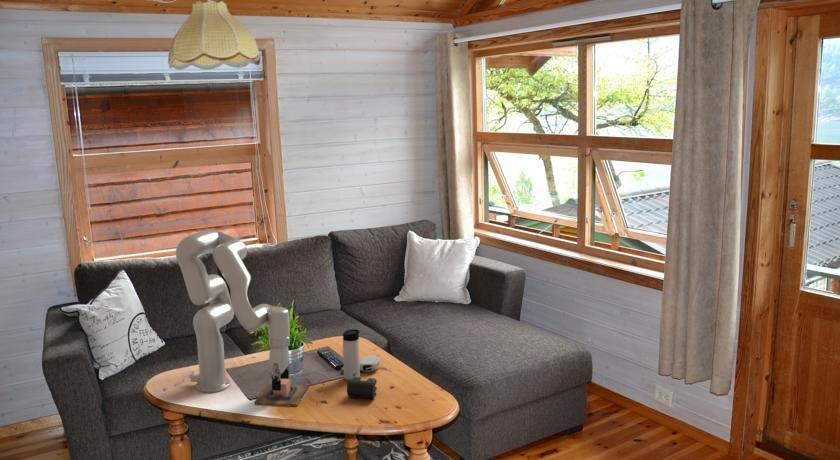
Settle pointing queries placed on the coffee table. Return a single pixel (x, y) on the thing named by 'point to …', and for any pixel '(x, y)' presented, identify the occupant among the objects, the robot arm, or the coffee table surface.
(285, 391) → the terracotta cube
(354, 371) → the travel mug
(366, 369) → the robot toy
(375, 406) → the coffee table surface
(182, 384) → the coffee table surface
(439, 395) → the coffee table surface
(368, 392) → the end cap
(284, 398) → the holder board
